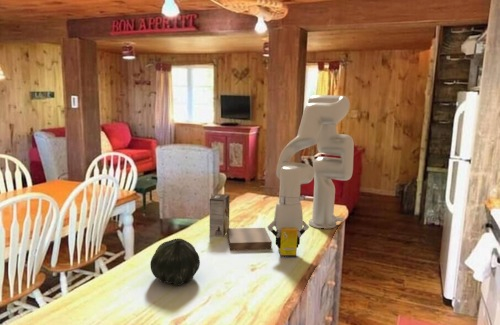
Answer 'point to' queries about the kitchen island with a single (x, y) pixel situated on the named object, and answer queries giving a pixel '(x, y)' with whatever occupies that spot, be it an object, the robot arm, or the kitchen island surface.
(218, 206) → the coffee box
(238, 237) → the base
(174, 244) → the squash
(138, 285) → the kitchen island surface
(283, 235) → the supplement box
